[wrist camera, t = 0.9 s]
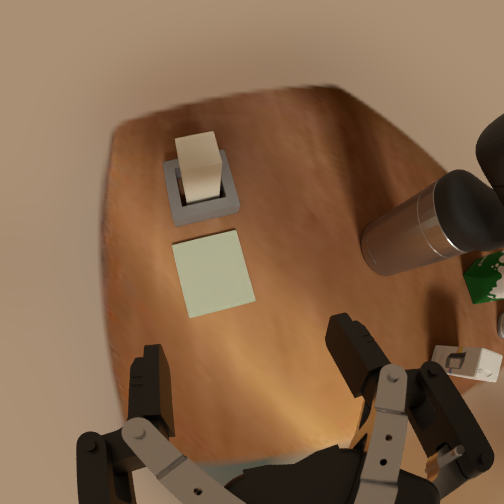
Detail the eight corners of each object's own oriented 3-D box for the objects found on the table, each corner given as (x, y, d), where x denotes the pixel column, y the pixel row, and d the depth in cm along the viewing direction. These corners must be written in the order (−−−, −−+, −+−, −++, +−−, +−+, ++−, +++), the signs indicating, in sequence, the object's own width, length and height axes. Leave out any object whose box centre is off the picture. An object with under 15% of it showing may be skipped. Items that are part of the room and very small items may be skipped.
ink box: (459, 352, 40) (504, 353, 29) (452, 376, 39) (497, 382, 27) (434, 343, 40) (482, 345, 28) (426, 371, 38) (474, 378, 27)
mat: (235, 230, 39) (235, 229, 39) (255, 300, 37) (255, 300, 37) (172, 245, 37) (172, 245, 37) (189, 318, 36) (189, 318, 35)
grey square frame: (223, 159, 41) (224, 149, 38) (238, 212, 40) (240, 204, 37) (165, 172, 39) (162, 162, 37) (175, 227, 38) (173, 220, 35)
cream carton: (211, 175, 40) (213, 131, 30) (218, 201, 40) (222, 162, 29) (182, 181, 40) (174, 138, 29) (188, 208, 39) (181, 171, 28)
